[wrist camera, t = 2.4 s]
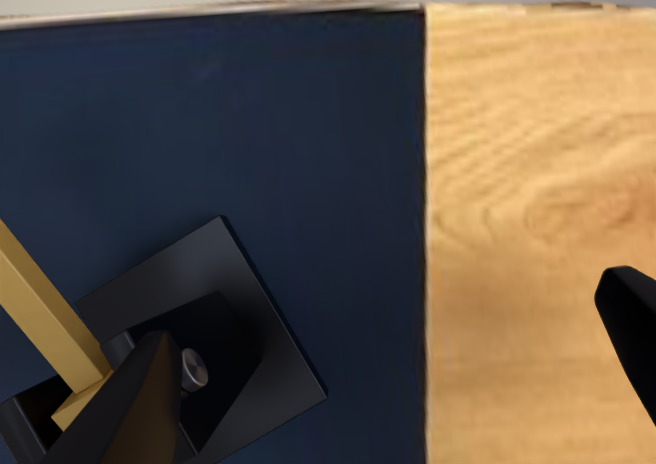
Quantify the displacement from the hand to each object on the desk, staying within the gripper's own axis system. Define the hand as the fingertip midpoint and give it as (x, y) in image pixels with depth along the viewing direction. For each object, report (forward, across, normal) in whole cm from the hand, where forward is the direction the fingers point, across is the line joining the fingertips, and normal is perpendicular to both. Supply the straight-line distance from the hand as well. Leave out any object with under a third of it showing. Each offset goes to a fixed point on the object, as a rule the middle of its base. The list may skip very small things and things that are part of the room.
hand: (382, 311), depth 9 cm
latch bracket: (+9, +9, +12) cm, 17 cm away
